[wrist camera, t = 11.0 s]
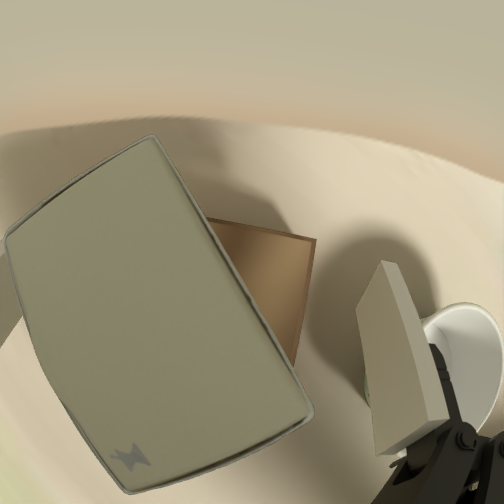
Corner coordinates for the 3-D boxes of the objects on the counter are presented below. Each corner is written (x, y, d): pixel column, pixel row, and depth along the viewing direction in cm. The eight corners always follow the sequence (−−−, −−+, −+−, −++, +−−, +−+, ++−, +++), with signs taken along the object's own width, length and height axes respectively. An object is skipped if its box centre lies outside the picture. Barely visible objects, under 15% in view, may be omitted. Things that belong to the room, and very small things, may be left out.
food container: (356, 301, 22) (397, 299, 15) (464, 305, 22) (512, 302, 16) (337, 441, 20) (365, 479, 13) (445, 424, 20) (486, 444, 14)
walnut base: (303, 250, 22) (320, 235, 17) (275, 392, 20) (285, 415, 16) (162, 222, 22) (143, 201, 17) (134, 361, 20) (108, 375, 15)
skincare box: (268, 340, 16) (336, 429, 4) (201, 376, 16) (133, 510, 4) (211, 243, 17) (155, 118, 5) (147, 280, 16) (-7, 233, 4)
